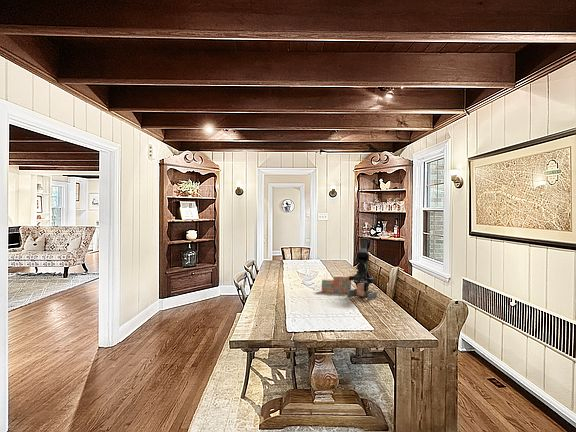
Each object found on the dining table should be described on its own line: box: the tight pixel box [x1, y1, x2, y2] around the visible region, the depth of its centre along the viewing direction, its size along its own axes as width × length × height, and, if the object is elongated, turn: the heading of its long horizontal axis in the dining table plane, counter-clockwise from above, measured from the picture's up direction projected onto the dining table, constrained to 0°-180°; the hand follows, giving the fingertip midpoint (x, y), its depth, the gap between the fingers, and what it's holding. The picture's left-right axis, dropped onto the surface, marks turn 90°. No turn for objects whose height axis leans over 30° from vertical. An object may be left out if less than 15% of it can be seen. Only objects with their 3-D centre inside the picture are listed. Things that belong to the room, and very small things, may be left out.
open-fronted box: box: [347, 288, 378, 301], centre depth 322 cm, size 11×17×4 cm, turn 50°
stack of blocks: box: [321, 274, 352, 294], centre depth 338 cm, size 21×6×12 cm, turn 85°
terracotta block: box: [356, 283, 367, 297], centre depth 321 cm, size 5×5×8 cm
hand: (361, 291), depth 321 cm, fingers closed on terracotta block, 5 cm apart
